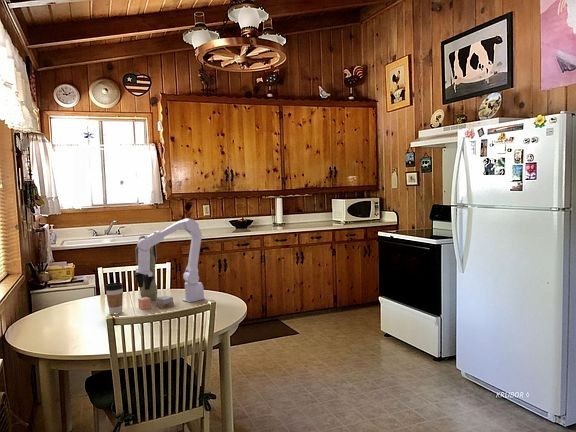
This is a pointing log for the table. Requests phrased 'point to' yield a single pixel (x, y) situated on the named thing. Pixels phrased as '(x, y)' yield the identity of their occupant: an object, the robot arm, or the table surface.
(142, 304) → the terracotta block
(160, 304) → the tower base
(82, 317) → the table surface
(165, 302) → the tower middle
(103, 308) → the table surface
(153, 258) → the stone statue
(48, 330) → the table surface
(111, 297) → the coffee cup
